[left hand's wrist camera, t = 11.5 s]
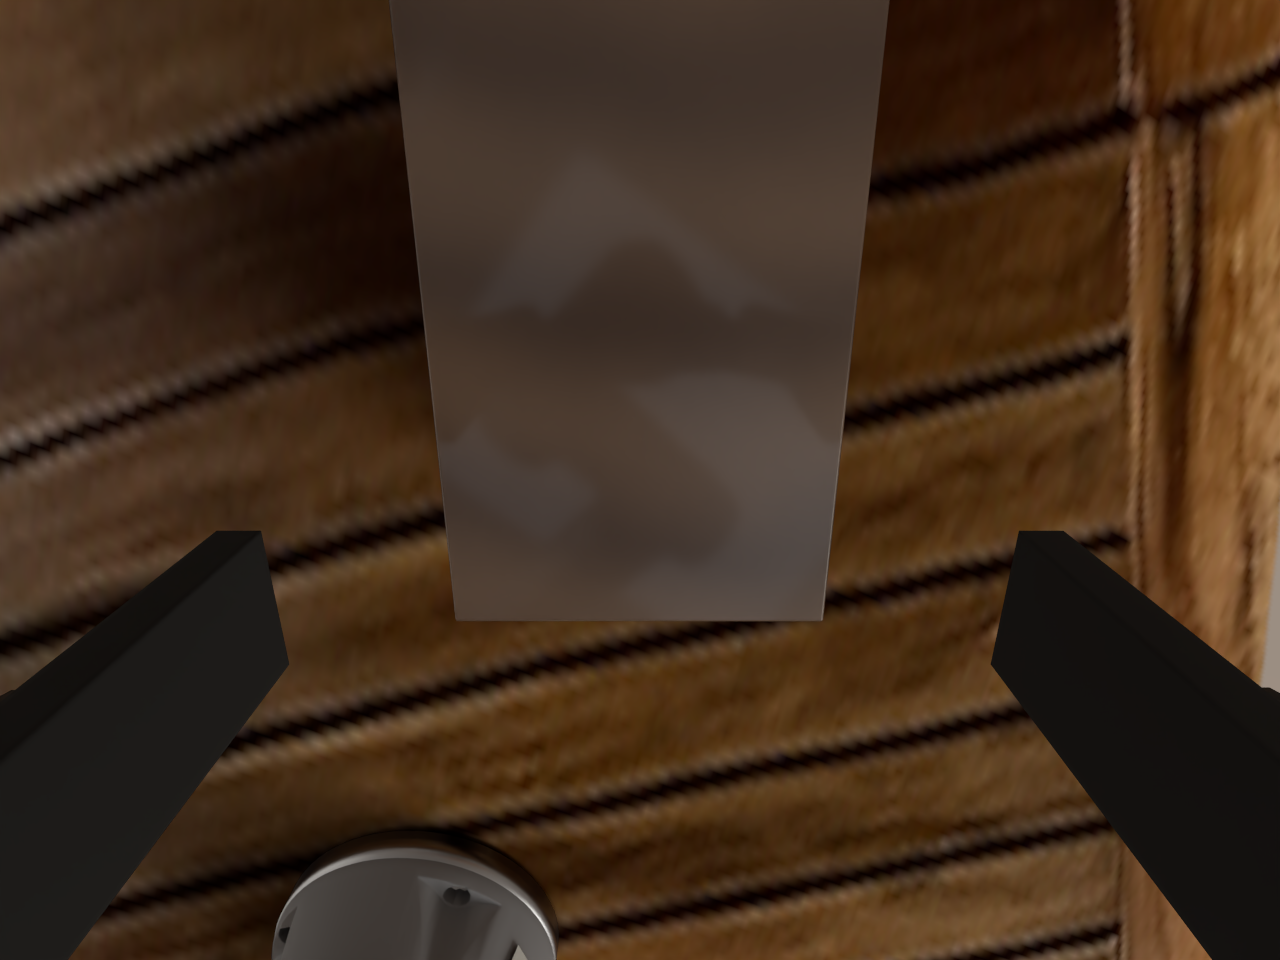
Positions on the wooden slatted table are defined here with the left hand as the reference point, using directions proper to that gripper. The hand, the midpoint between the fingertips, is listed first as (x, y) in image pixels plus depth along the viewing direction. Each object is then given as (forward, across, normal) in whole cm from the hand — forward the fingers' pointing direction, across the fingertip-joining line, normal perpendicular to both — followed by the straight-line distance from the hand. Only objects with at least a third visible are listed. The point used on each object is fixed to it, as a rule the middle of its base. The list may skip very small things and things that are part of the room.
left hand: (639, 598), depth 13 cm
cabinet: (+18, 0, -4) cm, 18 cm away
